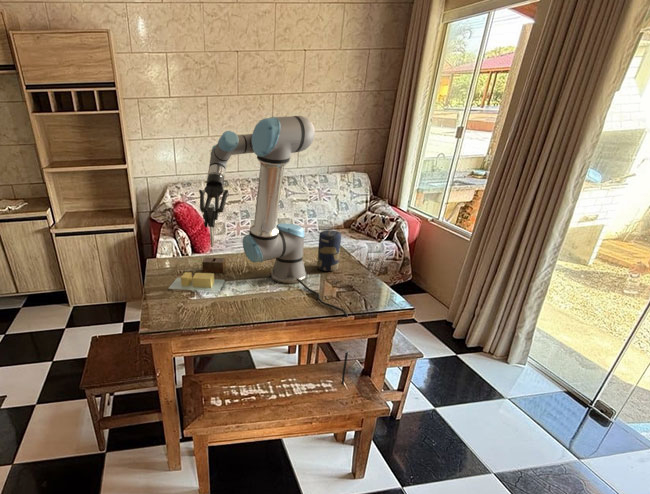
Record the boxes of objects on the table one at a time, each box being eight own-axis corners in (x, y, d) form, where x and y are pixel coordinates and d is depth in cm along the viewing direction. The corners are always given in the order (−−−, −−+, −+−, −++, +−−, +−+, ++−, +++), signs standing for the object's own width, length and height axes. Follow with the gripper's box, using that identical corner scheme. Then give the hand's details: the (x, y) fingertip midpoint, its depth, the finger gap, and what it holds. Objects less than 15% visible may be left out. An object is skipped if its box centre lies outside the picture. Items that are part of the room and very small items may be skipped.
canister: (342, 268, 187) (346, 229, 178) (331, 274, 181) (335, 234, 172) (323, 263, 193) (327, 226, 184) (312, 269, 187) (315, 230, 178)
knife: (216, 244, 183) (213, 206, 174) (214, 247, 180) (212, 208, 172) (210, 244, 183) (208, 206, 175) (209, 247, 180) (206, 208, 172)
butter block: (214, 282, 176) (213, 273, 174) (211, 287, 170) (210, 278, 168) (196, 281, 177) (195, 272, 175) (192, 286, 172) (192, 278, 170)
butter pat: (192, 281, 177) (191, 272, 175) (188, 286, 172) (187, 277, 170) (185, 280, 178) (184, 272, 176) (181, 286, 173) (180, 277, 171)
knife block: (225, 270, 190) (225, 258, 187) (223, 275, 185) (222, 262, 182) (206, 269, 192) (205, 257, 189) (203, 274, 187) (202, 261, 184)
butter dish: (225, 282, 178) (224, 279, 177) (219, 293, 168) (218, 291, 167) (177, 279, 182) (176, 277, 182) (168, 290, 172) (168, 288, 171)
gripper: (234, 183, 181) (228, 230, 175) (201, 183, 184) (193, 230, 178) (231, 172, 174) (225, 221, 168) (197, 173, 177) (189, 221, 171)
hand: (209, 225), depth 173 cm, fingers closed on knife, 2 cm apart
